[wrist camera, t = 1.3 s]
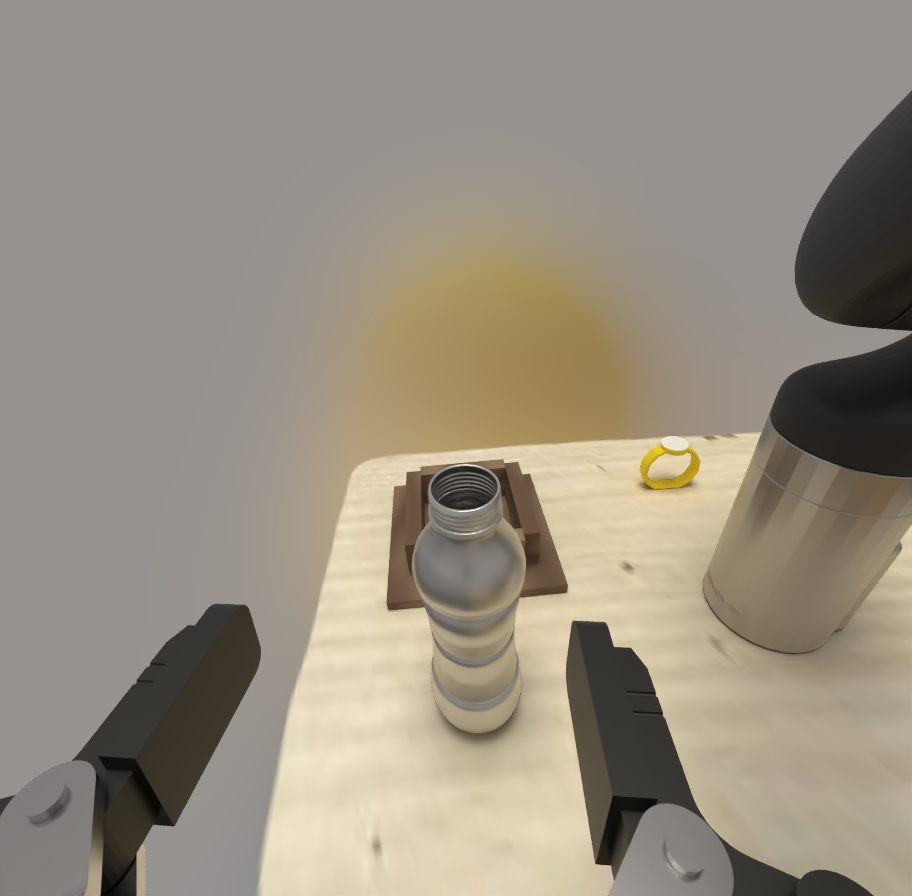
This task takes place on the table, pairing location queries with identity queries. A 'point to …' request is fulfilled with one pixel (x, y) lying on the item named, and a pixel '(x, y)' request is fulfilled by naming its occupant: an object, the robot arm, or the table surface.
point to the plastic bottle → (471, 597)
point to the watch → (671, 447)
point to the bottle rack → (517, 511)
